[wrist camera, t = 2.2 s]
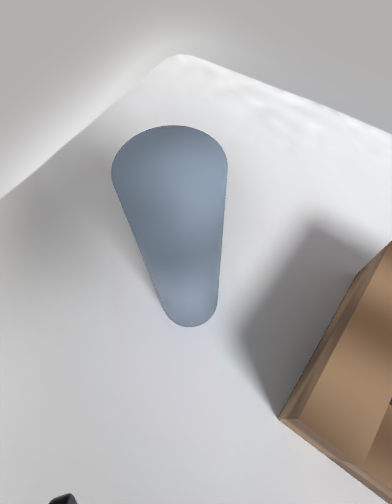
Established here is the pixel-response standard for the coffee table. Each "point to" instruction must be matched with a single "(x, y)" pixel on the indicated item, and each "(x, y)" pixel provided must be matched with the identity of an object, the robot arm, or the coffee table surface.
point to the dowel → (176, 214)
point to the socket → (352, 382)
